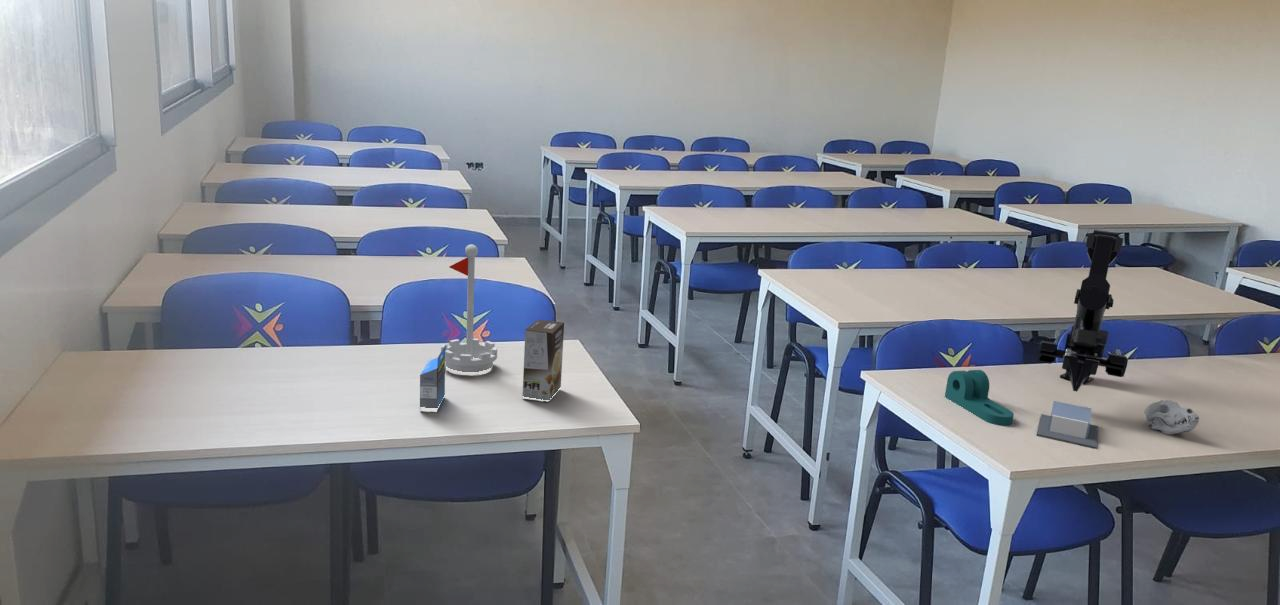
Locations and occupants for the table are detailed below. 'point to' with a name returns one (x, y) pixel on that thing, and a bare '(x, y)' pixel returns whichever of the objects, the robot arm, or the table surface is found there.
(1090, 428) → the mat
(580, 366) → the table surface
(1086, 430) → the book block
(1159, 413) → the skull
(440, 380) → the label tape cartridge
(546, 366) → the coffee box
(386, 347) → the table surface
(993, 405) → the bracket
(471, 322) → the flag stand
